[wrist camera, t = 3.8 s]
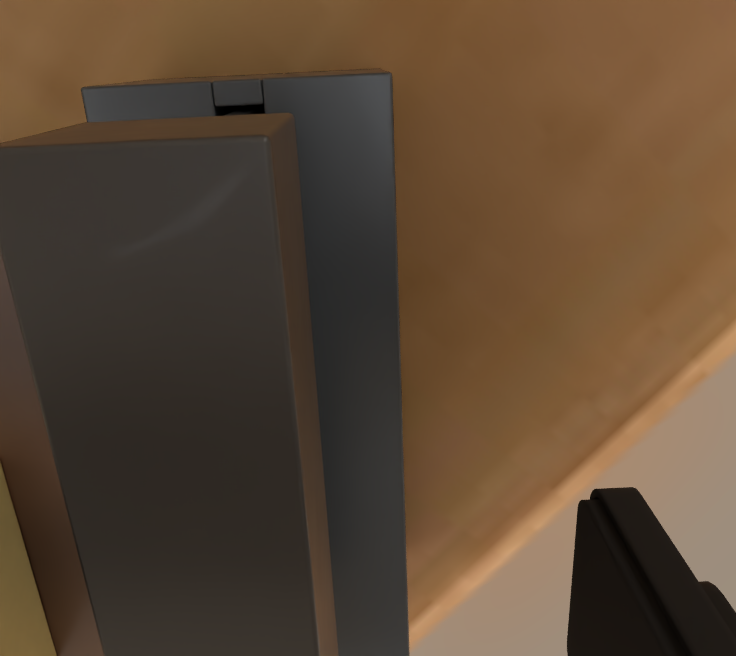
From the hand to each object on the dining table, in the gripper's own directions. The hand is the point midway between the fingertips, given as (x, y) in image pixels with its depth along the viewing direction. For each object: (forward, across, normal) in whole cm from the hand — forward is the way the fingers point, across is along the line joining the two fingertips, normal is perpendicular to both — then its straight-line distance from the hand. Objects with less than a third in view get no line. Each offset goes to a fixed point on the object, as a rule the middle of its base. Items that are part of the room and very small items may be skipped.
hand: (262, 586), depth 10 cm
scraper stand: (+8, 0, 0) cm, 8 cm away
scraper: (+8, 0, 0) cm, 8 cm away
